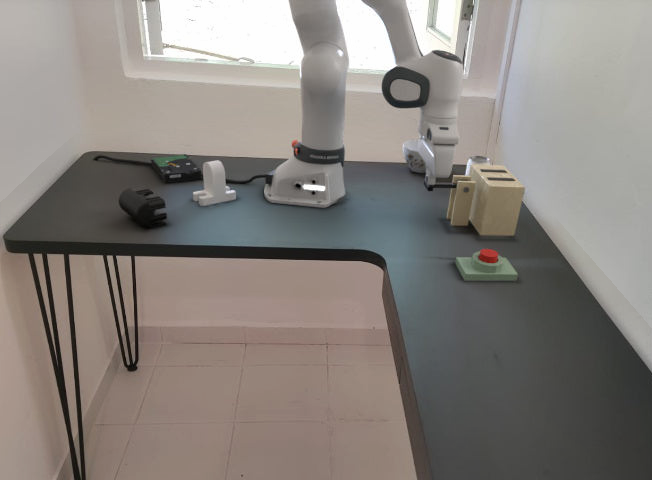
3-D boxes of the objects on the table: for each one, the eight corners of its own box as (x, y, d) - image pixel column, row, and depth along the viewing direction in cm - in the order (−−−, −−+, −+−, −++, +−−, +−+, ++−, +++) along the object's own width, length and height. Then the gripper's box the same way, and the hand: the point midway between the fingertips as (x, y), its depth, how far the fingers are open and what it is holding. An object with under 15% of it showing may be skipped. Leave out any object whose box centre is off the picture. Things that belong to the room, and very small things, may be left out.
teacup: (392, 165, 191) (395, 141, 187) (423, 161, 198) (426, 137, 193) (420, 181, 181) (423, 155, 177) (451, 176, 187) (455, 151, 183)
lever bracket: (449, 232, 151) (457, 184, 144) (441, 219, 157) (448, 172, 150) (471, 232, 152) (480, 184, 145) (463, 220, 158) (471, 173, 151)
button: (481, 264, 130) (483, 256, 129) (476, 255, 133) (477, 248, 132) (499, 264, 131) (500, 257, 130) (493, 255, 134) (494, 248, 133)
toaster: (478, 239, 148) (489, 185, 141) (461, 213, 162) (470, 163, 154) (513, 240, 150) (526, 186, 142) (493, 214, 163) (503, 164, 156)
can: (476, 205, 168) (484, 164, 162) (457, 198, 171) (464, 158, 165) (487, 199, 173) (495, 159, 166) (468, 193, 176) (475, 153, 169)
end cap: (120, 217, 141) (116, 190, 137) (149, 211, 145) (146, 184, 142) (139, 232, 135) (135, 204, 131) (168, 225, 139) (165, 198, 136)
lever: (427, 193, 146) (428, 184, 144) (423, 186, 150) (424, 177, 148) (470, 193, 147) (472, 184, 146) (465, 186, 152) (466, 177, 150)
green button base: (464, 280, 129) (467, 266, 128) (455, 263, 136) (457, 249, 134) (516, 281, 131) (519, 267, 130) (504, 264, 138) (507, 250, 136)
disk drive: (202, 180, 166) (186, 162, 176) (202, 170, 165) (185, 153, 175) (165, 184, 161) (150, 166, 171) (164, 174, 160) (149, 156, 170)
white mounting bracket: (236, 199, 157) (235, 162, 151) (202, 206, 151) (199, 167, 145) (226, 192, 160) (224, 156, 154) (192, 199, 154) (189, 161, 149)
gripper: (415, 114, 147) (409, 168, 155) (434, 138, 131) (426, 197, 138) (440, 115, 149) (432, 169, 156) (461, 139, 132) (452, 198, 139)
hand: (429, 182), depth 147 cm, fingers closed, pressing on lever
